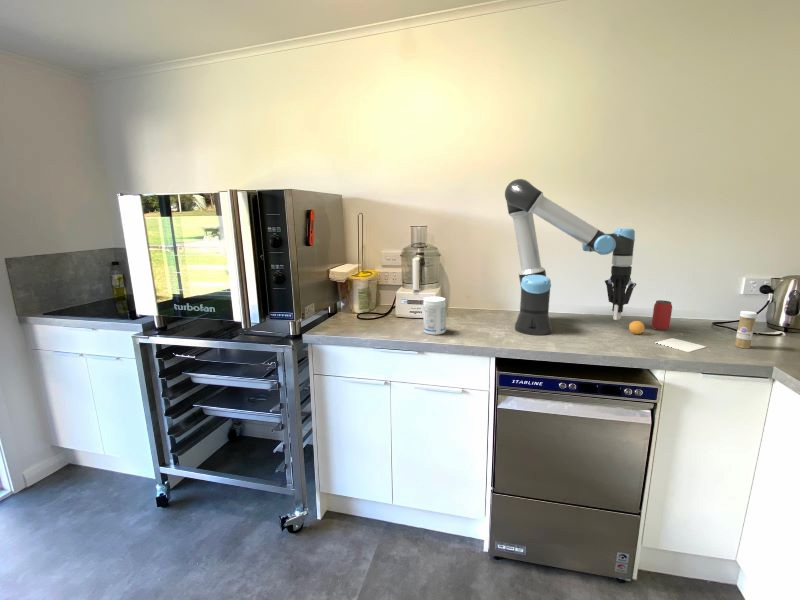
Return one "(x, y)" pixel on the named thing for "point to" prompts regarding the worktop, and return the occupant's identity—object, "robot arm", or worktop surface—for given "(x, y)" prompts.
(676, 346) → the spiral notepad
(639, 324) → the ball
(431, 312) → the supplement tub
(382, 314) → the worktop surface
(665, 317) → the beer can
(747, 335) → the sprinkles bottle
